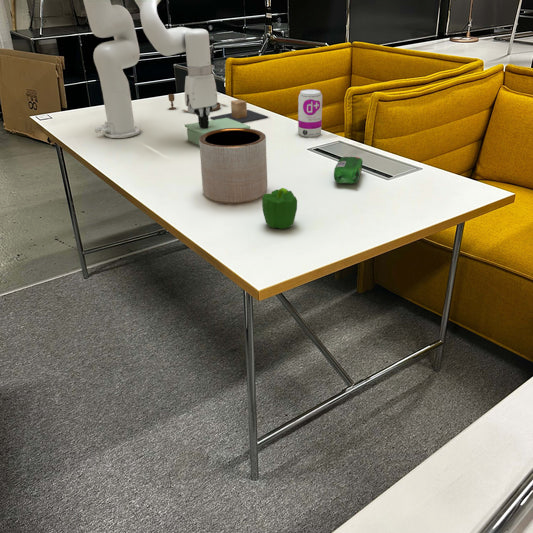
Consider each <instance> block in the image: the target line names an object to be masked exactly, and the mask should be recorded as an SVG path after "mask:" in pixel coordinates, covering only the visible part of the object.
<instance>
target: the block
mask: <svg viewBox="0 0 533 533" xmlns="http://www.w3.org/2000/svg"><path fill="white" fill-rule="evenodd" d="M247 105H248V104H247V101H246V100H242V99H236V100H231V101H230V108H231V110H230V111H231V112H230V113H232V117H234V118H237V119H239V118H244V117H247V110H248V109H247V108H248V107H247Z"/></svg>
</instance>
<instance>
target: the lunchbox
mask: <svg viewBox="0 0 533 533" xmlns="http://www.w3.org/2000/svg"><path fill="white" fill-rule="evenodd" d="M186 133H187V140H188V141H189V142H191V143H193V144H195V145H197V146H200V144H199V138H200V136H201V135H202V134H200V133H197V132H195V131H193V130H191V129H188V128H186Z"/></svg>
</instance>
